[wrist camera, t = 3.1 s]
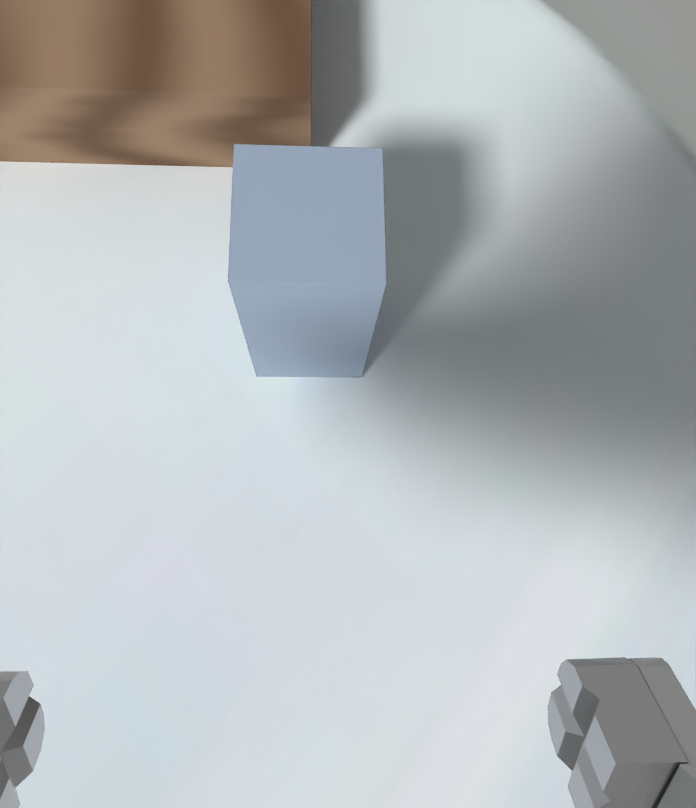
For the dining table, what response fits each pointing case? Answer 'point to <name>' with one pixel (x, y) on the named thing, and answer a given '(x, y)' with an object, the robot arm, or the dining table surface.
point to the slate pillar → (307, 256)
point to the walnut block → (152, 79)
